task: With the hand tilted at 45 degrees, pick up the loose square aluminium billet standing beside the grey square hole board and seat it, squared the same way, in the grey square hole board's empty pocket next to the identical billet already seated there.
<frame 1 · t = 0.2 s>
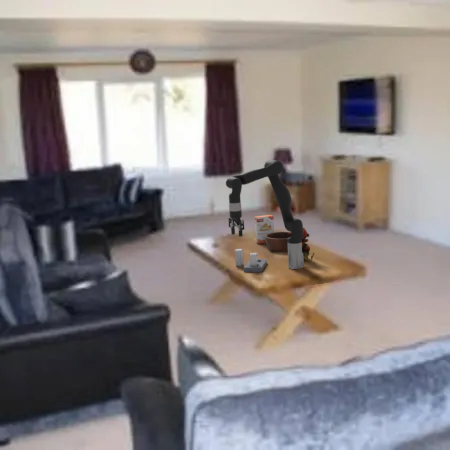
hand: (236, 235, 413), 29 cm above the table, tool pointing down, fingers open, 8 cm apart
red flower plant: (302, 259, 462), on the table
cracker box: (264, 242, 520), on the table
grey square hole board: (255, 267, 448), on the table
billet: (239, 265, 456), on the table
wooden bowl: (282, 248, 497), on the table
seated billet: (254, 269, 443), resting in grey square hole board
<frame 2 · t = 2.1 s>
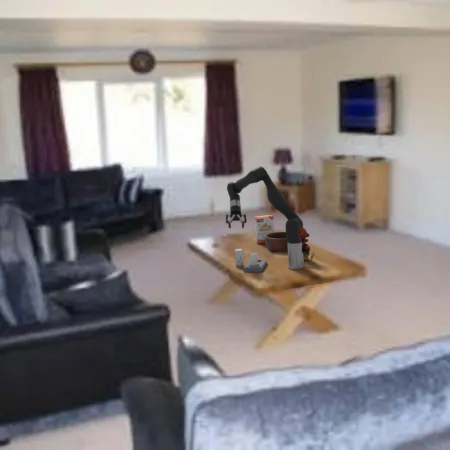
hand: (236, 228, 456), 25 cm above the table, tool tilted 40°, fingers open, 8 cm apart
nothing on the table moved.
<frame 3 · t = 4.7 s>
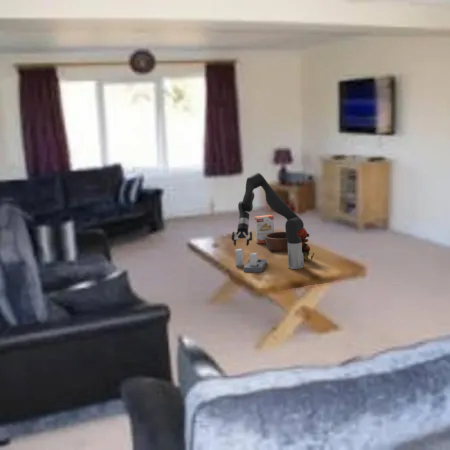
hand: (241, 245, 461), 12 cm above the table, tool tilted 45°, fingers open, 8 cm apart
nothing on the table moved.
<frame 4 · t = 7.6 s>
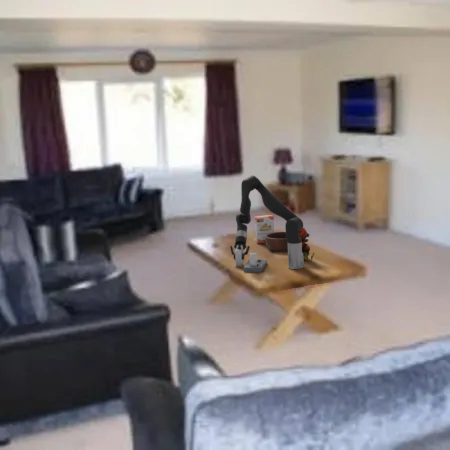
hand: (238, 259, 453), 5 cm above the table, tool tilted 45°, fingers closed on billet, 4 cm apart
billet: (239, 265, 456), on the table, touching gripper
everything else where it was.
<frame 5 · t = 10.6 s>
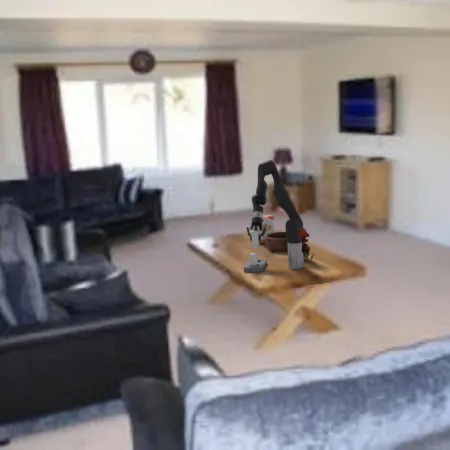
hand: (255, 240, 448), 18 cm above the table, tool tilted 45°, fingers closed on billet, 4 cm apart
billet: (256, 246, 451), point 13 cm above the table, touching gripper
everything else where it was.
when the fingers open (6 cm above the table, at t = 13.6 s): billet drops 1 cm, resting in grey square hole board.
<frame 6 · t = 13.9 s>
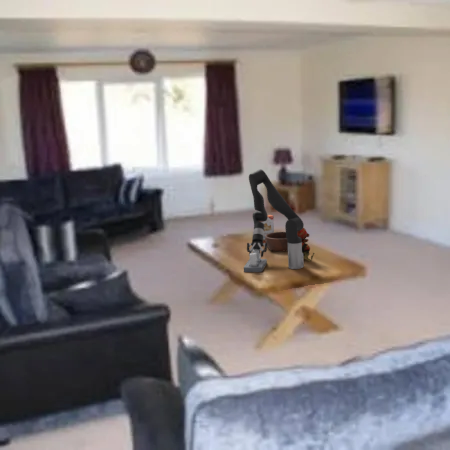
hand: (256, 256, 450), 6 cm above the table, tool tilted 45°, fingers open, 7 cm apart
billet: (257, 265, 453), resting in grey square hole board
everything else where it was.
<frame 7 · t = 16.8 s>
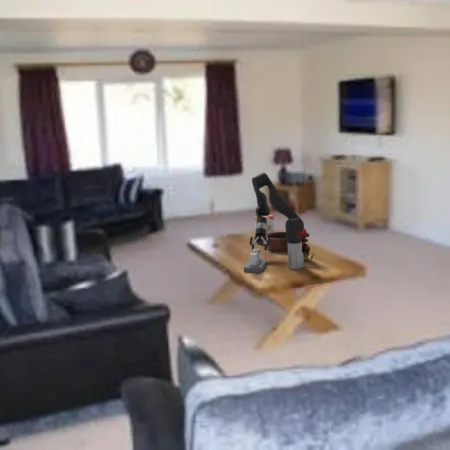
hand: (259, 249, 463), 8 cm above the table, tool tilted 45°, fingers open, 8 cm apart
nothing on the table moved.
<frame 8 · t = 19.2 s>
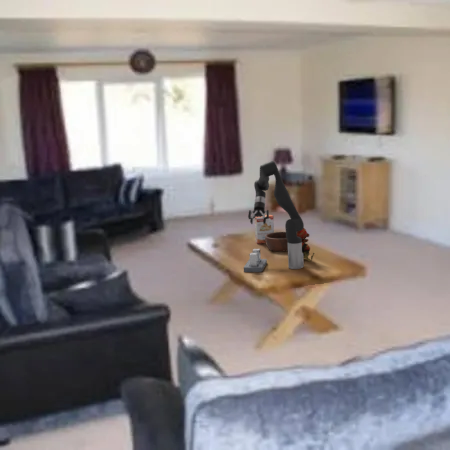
hand: (257, 223, 459), 27 cm above the table, tool tilted 45°, fingers open, 8 cm apart
nothing on the table moved.
at the end: billet 0.2 cm from the target spot, resting in grey square hole board; billet tilted 0°; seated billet moved 0.0 cm from its start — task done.
